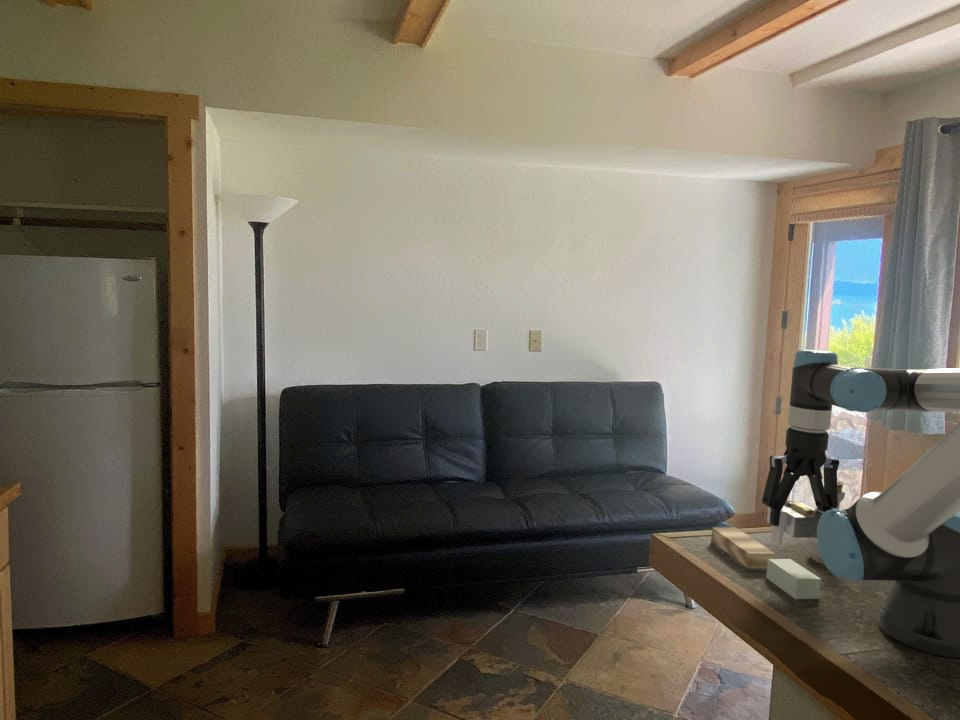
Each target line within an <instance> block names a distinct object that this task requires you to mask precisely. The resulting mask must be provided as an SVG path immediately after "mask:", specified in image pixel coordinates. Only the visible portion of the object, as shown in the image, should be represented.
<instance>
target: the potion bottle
mask: <svg viewBox="0 0 960 720" xmlns="http://www.w3.org/2000/svg"><path fill="white" fill-rule="evenodd" d="M843 486H844V482H841V481H837V498H838V506H837V507H836V508H838V509H840V507H841V506H840V505H841V502H842V501H843V500H844V498H845V495H846V493H845V492H844V491H842V490H843ZM831 509H835V508H831ZM807 545H808V550H809V554H811V560H813V561H814V562H817V563H818V564H821V565H824V566H826V565H825V563H824V561H823V559H822V557H821V554H820V551H819V547H818V544H817V543H815V542H813V541H812V540H810V539H809V541H808V543H807Z"/></svg>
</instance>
